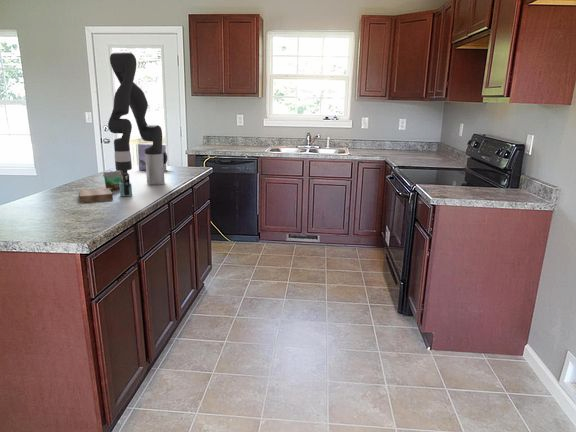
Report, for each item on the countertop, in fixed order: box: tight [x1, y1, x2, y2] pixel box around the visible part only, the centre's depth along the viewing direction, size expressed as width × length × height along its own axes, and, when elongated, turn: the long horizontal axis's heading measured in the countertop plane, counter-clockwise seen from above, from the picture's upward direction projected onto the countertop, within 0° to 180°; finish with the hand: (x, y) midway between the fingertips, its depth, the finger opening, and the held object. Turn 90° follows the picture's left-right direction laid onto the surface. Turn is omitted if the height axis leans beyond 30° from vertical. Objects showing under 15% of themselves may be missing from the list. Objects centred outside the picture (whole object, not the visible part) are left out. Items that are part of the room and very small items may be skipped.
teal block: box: [119, 181, 133, 197], centre depth 210 cm, size 5×5×6 cm
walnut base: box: [78, 188, 114, 203], centre depth 204 cm, size 14×14×3 cm
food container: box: [102, 169, 121, 192], centre depth 224 cm, size 12×6×10 cm, turn 168°
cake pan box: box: [137, 143, 168, 171], centre depth 286 cm, size 19×5×18 cm, turn 84°
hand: (126, 193), depth 211 cm, fingers closed on teal block, 5 cm apart
